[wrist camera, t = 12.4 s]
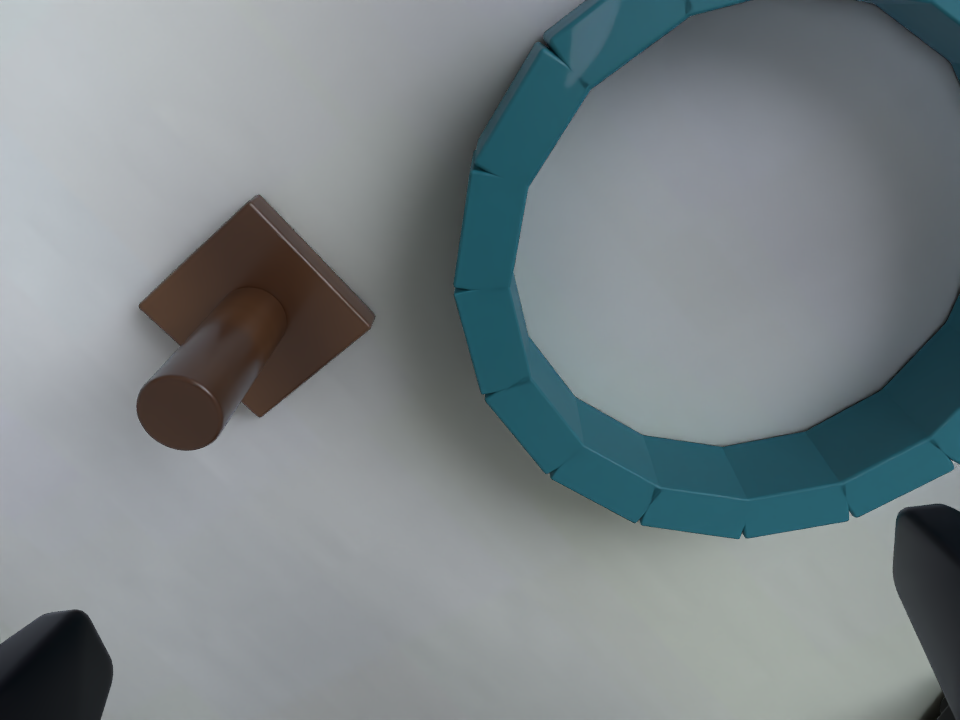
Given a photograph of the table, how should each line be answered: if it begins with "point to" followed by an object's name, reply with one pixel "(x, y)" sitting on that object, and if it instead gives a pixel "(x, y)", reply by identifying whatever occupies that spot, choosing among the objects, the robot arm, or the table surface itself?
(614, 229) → the table surface
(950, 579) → the robot arm
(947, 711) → the figurine
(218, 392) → the post
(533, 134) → the ring
